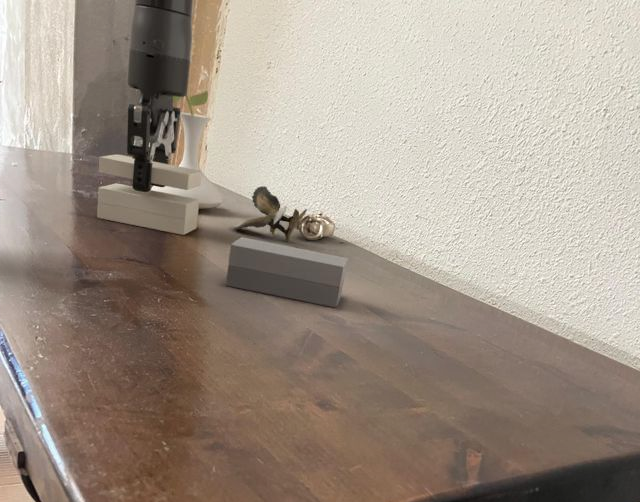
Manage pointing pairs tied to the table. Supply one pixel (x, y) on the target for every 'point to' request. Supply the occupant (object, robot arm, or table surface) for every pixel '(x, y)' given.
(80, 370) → the table surface
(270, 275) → the grey books
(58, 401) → the table surface
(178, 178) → the white book
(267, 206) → the eagle figurine
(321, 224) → the ornament
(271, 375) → the table surface
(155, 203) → the white books
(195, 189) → the flower in vase
